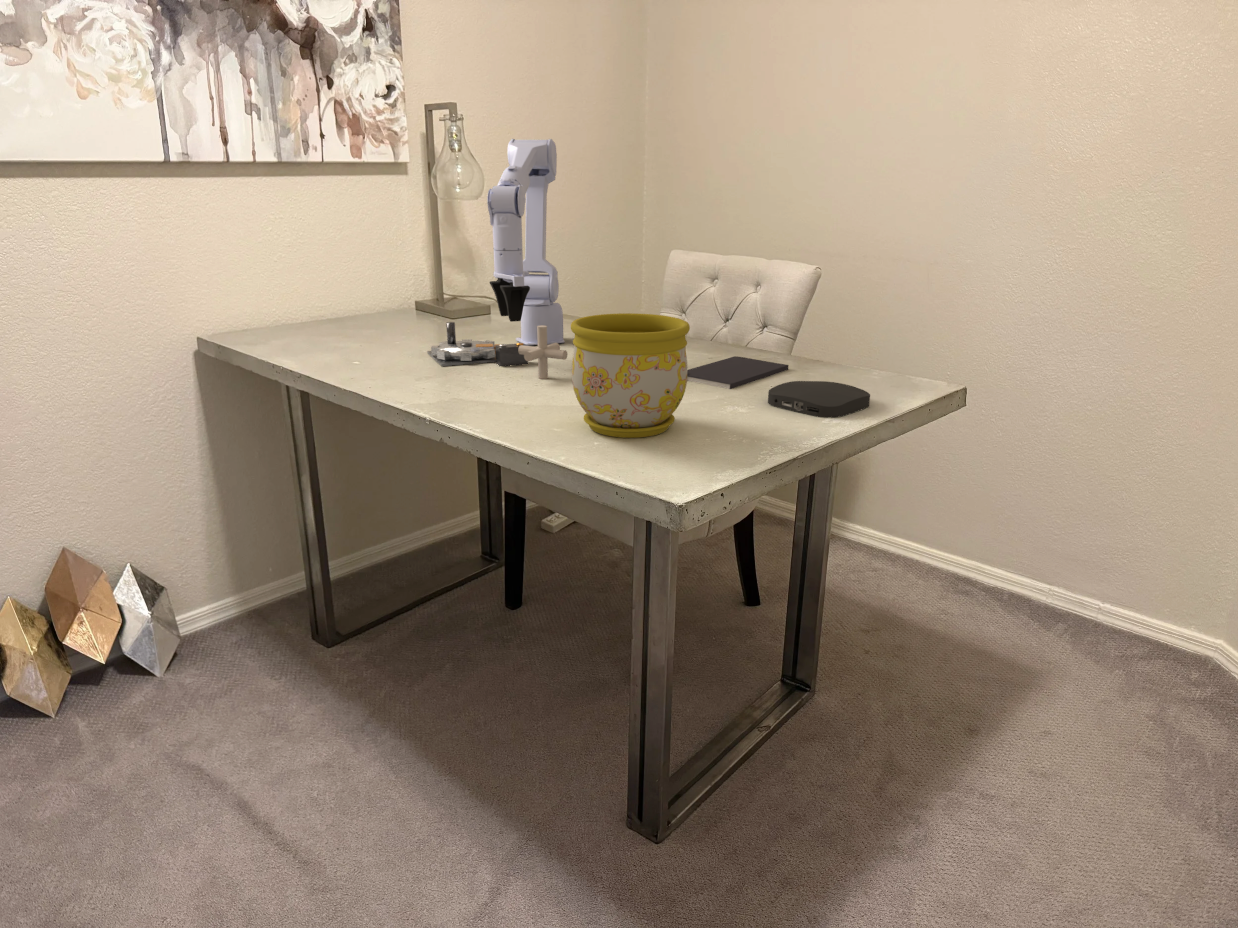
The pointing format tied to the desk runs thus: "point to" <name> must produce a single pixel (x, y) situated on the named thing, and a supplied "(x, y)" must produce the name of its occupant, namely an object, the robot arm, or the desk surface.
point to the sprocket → (463, 347)
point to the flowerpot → (629, 372)
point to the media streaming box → (818, 398)
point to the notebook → (734, 372)
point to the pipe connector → (542, 352)
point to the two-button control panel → (509, 355)
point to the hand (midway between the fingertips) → (510, 318)
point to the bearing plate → (458, 361)
